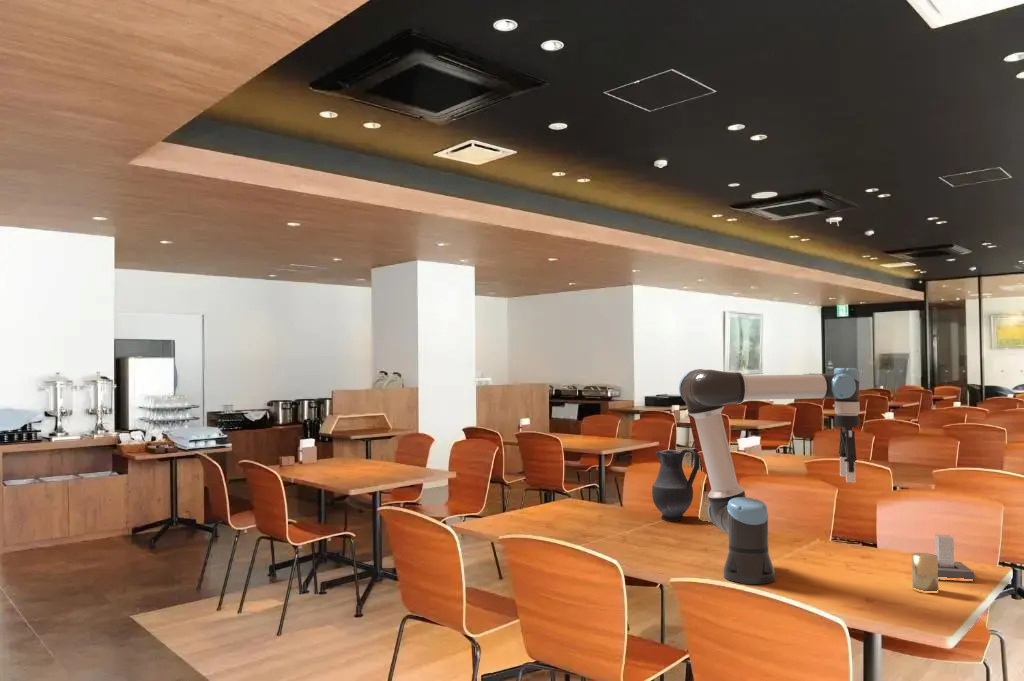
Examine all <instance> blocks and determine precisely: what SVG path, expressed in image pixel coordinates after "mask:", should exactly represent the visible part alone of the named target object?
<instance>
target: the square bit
mask: <svg viewBox="0 0 1024 681" xmlns="http://www.w3.org/2000/svg"><path fill="white" fill-rule="evenodd" d="M954 544H955V543H954V537H953V536H952V535H950V534H934V546H935V547H934V548H935V549H934V550H935V555H936V556H937V557H938V568H952V569H954V562H955V547H954Z"/></svg>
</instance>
